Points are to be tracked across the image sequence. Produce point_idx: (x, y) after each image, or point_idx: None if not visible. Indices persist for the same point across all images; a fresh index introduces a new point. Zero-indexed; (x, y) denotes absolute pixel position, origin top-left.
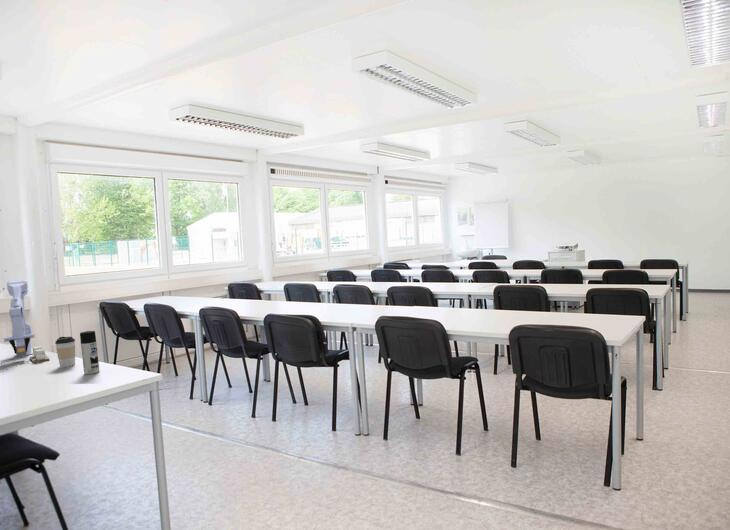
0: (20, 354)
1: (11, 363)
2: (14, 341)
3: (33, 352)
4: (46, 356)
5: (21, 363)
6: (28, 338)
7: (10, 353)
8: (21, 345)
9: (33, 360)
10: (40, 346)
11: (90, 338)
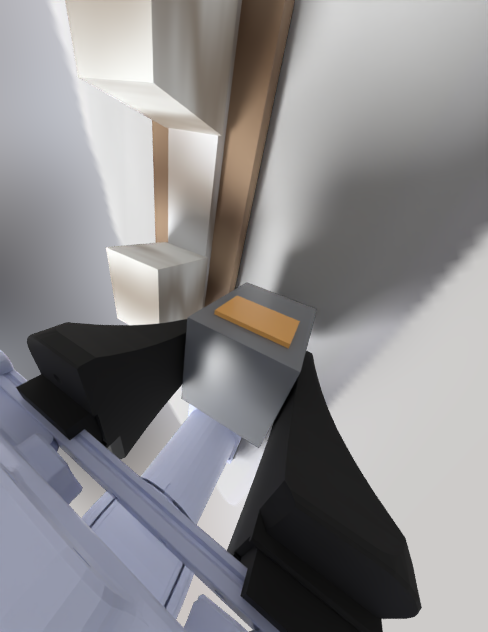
0: (283, 305)
1: (370, 302)
2: (262, 523)
3: (189, 311)
4: (158, 196)
5: (345, 182)
6: (48, 389)
7: (233, 490)
8: (209, 397)
9: (262, 80)
10: (118, 303)
11: None
